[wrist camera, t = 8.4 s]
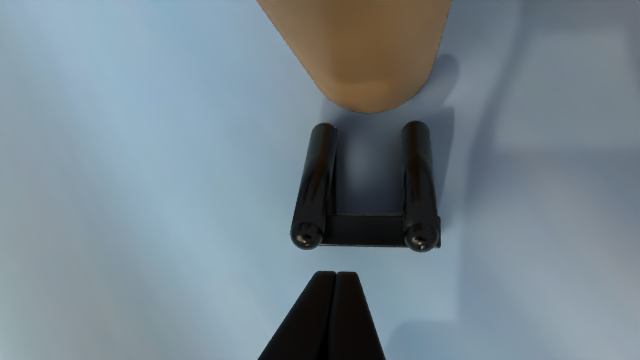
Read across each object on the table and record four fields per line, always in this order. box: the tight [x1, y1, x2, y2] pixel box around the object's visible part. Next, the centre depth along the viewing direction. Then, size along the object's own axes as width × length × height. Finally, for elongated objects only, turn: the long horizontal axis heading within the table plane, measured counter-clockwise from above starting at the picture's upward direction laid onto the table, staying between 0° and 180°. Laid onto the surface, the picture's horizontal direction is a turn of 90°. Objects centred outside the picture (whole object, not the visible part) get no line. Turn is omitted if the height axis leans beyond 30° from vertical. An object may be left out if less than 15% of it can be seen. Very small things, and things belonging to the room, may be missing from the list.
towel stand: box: [290, 120, 441, 252], centre depth 18 cm, size 5×6×6 cm
